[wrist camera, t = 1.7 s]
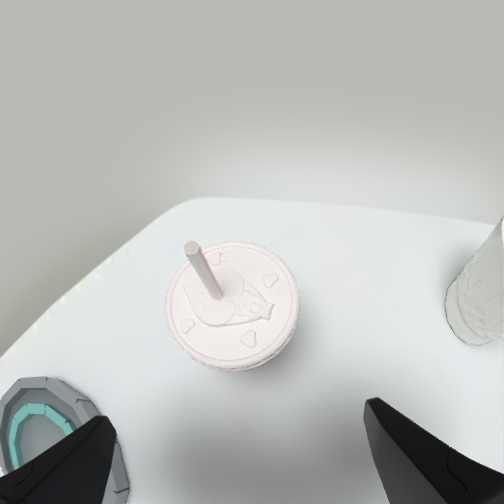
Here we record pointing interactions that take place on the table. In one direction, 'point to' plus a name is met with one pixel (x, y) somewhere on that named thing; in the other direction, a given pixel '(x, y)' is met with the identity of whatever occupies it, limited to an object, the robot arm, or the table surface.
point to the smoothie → (232, 305)
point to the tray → (49, 427)
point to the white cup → (480, 293)
